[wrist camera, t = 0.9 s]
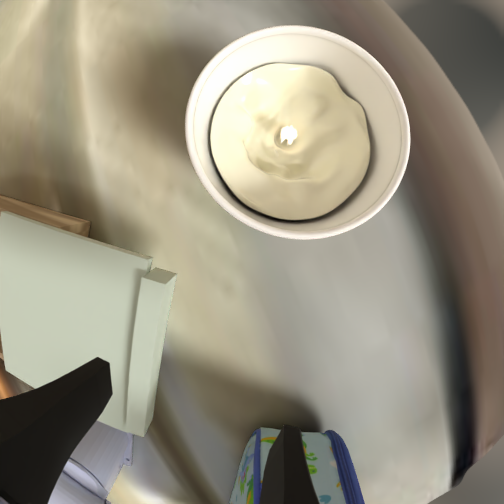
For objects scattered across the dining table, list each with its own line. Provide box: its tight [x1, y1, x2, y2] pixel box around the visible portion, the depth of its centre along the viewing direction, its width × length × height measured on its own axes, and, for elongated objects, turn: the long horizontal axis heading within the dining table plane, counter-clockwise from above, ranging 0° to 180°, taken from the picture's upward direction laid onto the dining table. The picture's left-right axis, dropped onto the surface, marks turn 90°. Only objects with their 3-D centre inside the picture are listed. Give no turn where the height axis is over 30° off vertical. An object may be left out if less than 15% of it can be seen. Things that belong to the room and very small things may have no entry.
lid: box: [0, 211, 177, 438], centre depth 21 cm, size 16×16×3 cm
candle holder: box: [185, 25, 410, 239], centre depth 17 cm, size 10×10×12 cm
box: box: [0, 195, 91, 360], centre depth 23 cm, size 16×14×5 cm
